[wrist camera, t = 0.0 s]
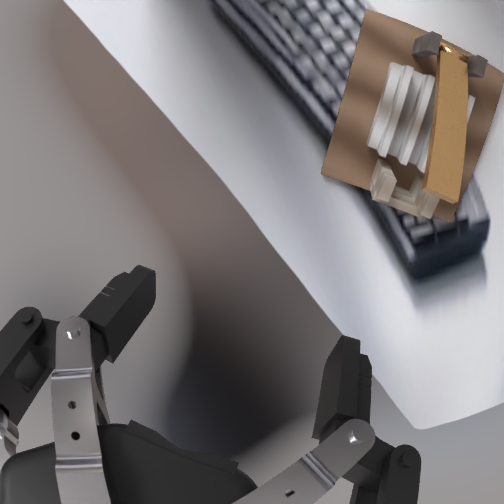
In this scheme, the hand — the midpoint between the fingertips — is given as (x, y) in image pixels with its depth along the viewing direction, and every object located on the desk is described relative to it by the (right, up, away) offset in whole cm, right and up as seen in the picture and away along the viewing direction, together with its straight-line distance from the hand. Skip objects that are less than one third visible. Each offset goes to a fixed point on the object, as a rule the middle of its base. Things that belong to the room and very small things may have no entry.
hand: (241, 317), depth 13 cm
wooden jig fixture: (+20, +18, +18) cm, 32 cm away
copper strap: (+17, +14, +9) cm, 24 cm away
